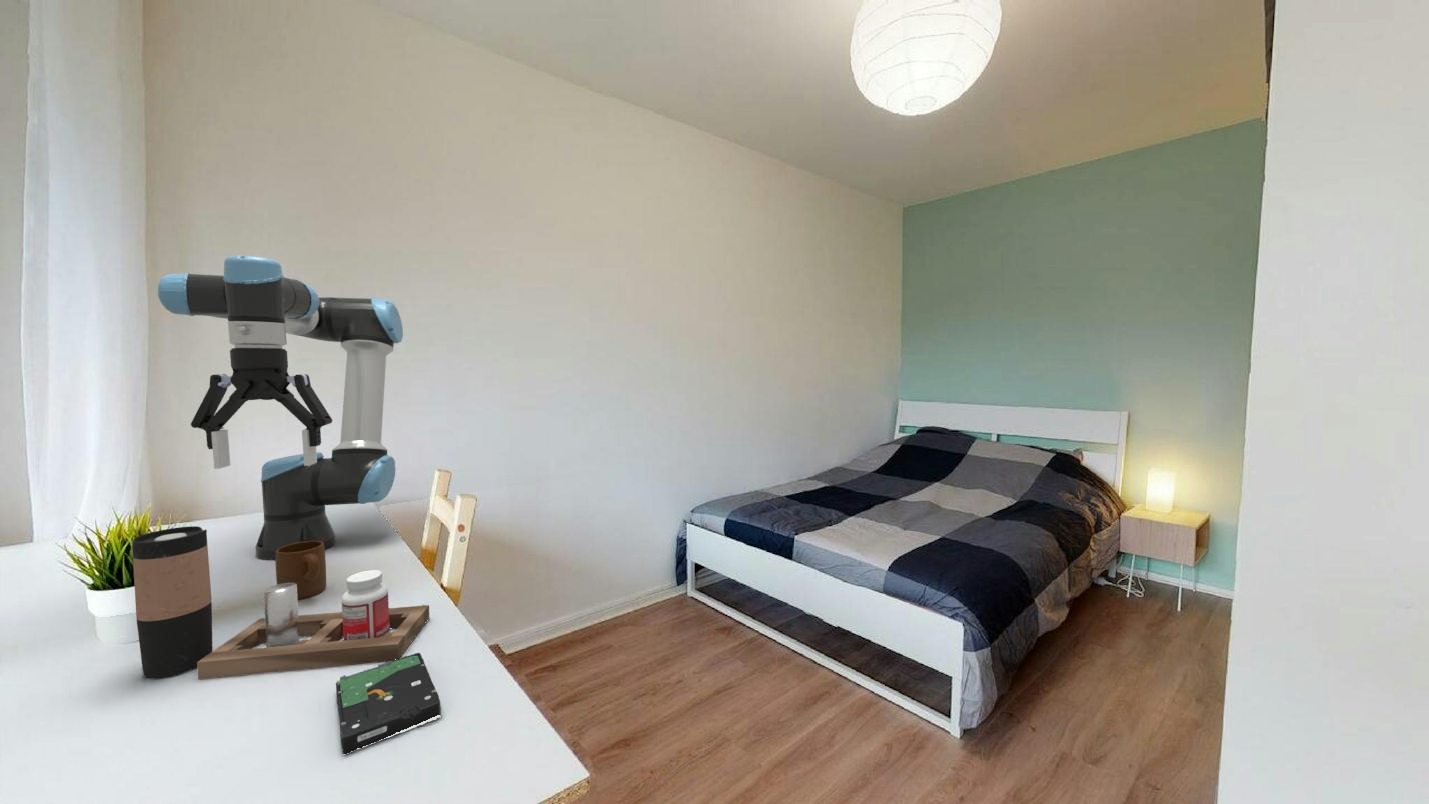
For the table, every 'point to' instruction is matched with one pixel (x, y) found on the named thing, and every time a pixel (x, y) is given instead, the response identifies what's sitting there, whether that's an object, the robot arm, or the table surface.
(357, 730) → the disk drive
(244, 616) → the table surface
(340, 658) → the socket board
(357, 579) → the pill bottle
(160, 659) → the travel mug
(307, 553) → the mug
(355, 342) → the robot arm
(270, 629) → the steel peg
